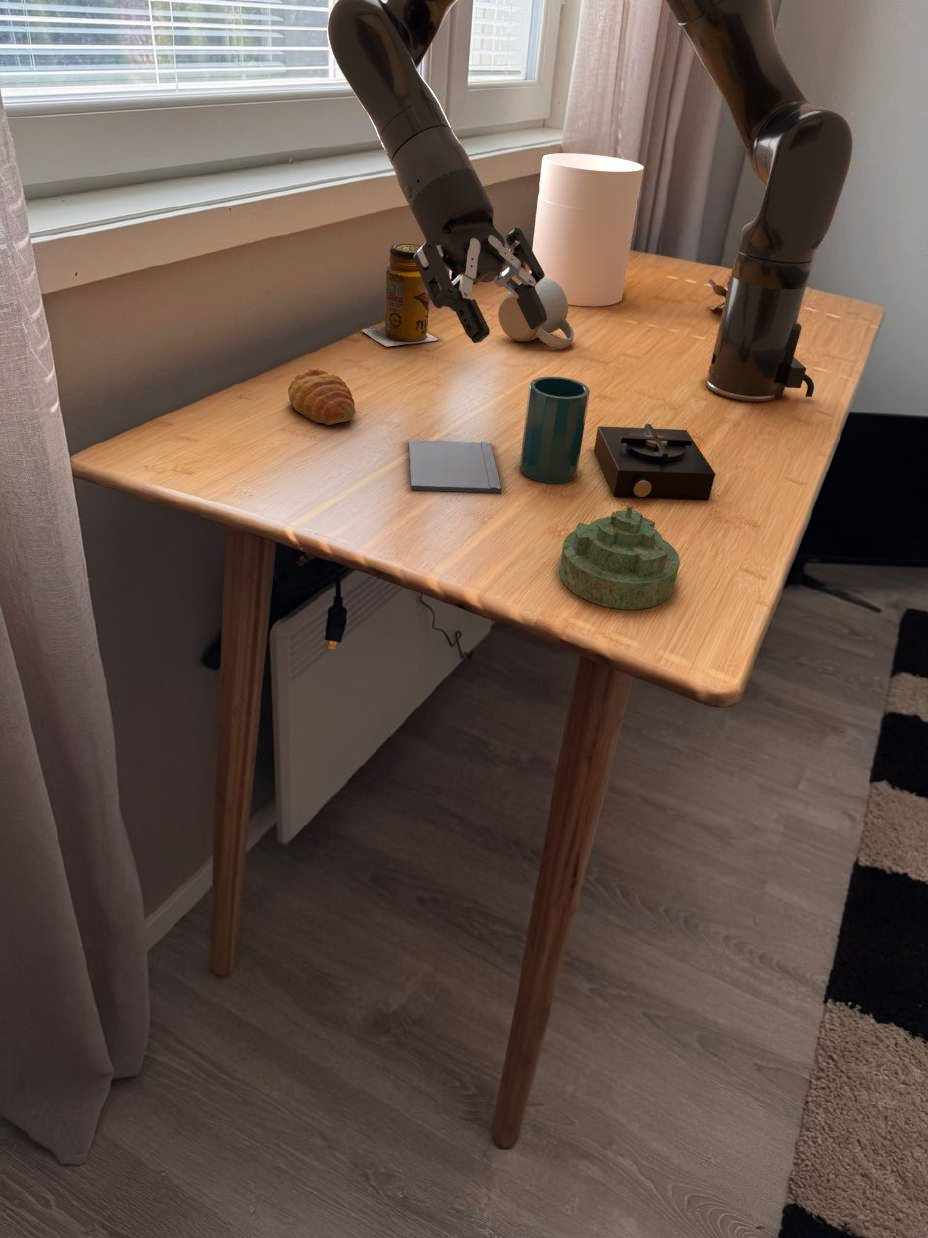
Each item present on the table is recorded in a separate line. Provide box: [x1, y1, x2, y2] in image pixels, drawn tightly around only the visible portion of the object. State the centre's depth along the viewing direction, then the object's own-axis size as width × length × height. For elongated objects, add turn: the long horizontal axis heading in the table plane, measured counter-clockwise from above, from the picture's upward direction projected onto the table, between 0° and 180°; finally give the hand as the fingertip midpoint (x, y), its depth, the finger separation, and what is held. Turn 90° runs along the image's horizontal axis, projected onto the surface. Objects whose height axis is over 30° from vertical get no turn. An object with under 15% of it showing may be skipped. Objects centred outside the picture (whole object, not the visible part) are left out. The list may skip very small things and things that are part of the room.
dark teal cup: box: [519, 376, 591, 484], centre depth 95 cm, size 6×6×9 cm
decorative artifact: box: [558, 504, 681, 611], centre depth 79 cm, size 10×7×10 cm
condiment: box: [361, 242, 439, 347], centre depth 127 cm, size 7×8×12 cm
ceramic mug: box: [497, 278, 575, 350], centre depth 132 cm, size 11×8×8 cm
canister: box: [529, 152, 645, 307], centre depth 151 cm, size 16×16×20 cm
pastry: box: [287, 368, 356, 426], centre depth 105 cm, size 9×7×4 cm
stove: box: [593, 423, 716, 501], centre depth 97 cm, size 10×12×4 cm
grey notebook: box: [408, 439, 502, 494], centre depth 97 cm, size 9×11×1 cm
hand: (512, 331), depth 95 cm, fingers open, 8 cm apart
